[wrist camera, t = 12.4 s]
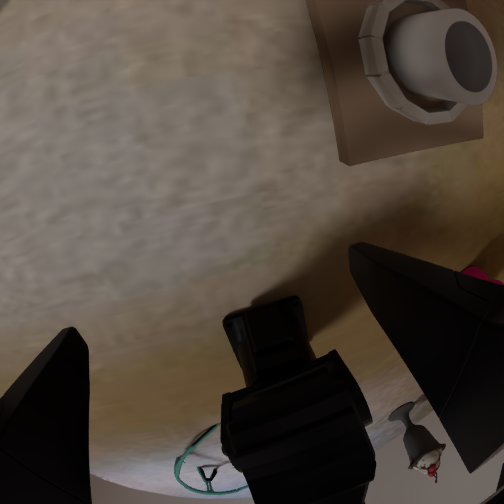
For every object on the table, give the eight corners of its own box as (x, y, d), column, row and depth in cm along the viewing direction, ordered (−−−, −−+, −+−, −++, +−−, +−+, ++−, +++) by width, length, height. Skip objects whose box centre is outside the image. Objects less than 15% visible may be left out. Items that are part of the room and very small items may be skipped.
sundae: (393, 404, 40) (436, 481, 27) (424, 394, 41) (467, 463, 29) (377, 427, 43) (412, 498, 30) (407, 417, 45) (443, 481, 32)
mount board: (471, 134, 21) (495, 142, 19) (339, 160, 20) (360, 172, 18) (448, -16, 14) (472, -20, 11) (295, -32, 13) (312, -48, 11)
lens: (451, 94, 18) (502, 104, 13) (391, 98, 17) (444, 107, 13) (439, 19, 15) (490, 16, 10) (375, 14, 14) (426, 1, 10)
